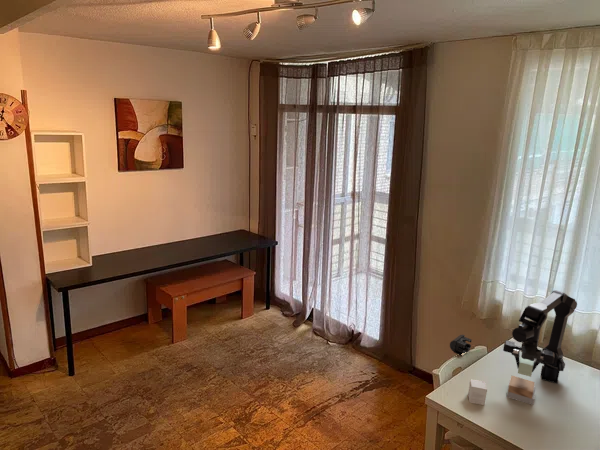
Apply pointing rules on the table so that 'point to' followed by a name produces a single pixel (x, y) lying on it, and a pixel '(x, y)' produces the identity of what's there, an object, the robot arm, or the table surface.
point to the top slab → (521, 387)
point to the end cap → (460, 345)
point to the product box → (477, 392)
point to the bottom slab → (521, 397)
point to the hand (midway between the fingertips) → (525, 369)
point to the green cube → (525, 367)
